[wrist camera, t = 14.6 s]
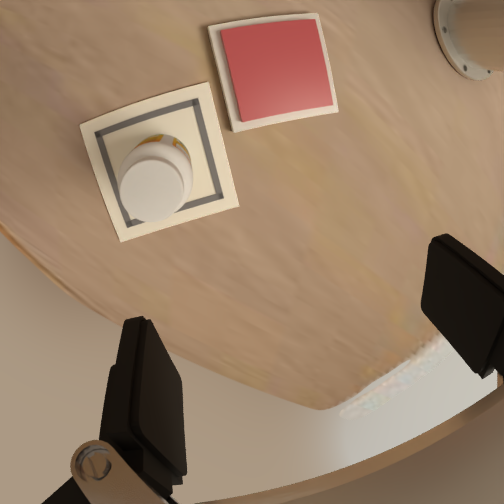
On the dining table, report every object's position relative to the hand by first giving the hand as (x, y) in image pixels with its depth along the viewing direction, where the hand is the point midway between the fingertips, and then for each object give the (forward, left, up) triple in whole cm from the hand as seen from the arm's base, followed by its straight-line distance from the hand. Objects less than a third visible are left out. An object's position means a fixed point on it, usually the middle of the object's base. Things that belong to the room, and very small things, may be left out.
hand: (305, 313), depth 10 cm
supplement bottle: (+5, -2, -21) cm, 22 cm away
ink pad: (-7, -8, -21) cm, 24 cm away
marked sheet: (+5, -2, -21) cm, 22 cm away
